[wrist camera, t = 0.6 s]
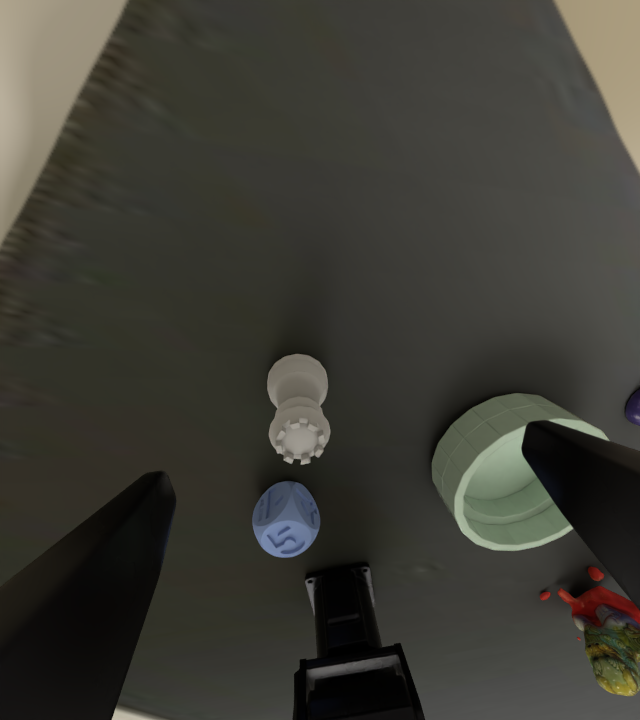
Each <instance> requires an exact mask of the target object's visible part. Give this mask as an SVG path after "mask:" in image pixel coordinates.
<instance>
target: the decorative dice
mask: <svg viewBox="0 0 640 720" xmlns="http://www.w3.org/2000/svg"><path fill="white" fill-rule="evenodd" d="M252 521H253V529H254V533H255V535H256V538H257V540H258V542H259V544H260V545H261V546H262V548H263V549H264V550H265V551H266V552H268V553H269V554H271V555H273V556H277V557H293V556H296V555H298V554H300V553H302V552H304V551H305V550H306V549H307V548H308V547H309V546H310V545H311V544H312V543H313V541H314V540H315V538H316V536H317V533H318V531H319V527H320V515H319V511H318V508H317V505H316V503H315V501H314V499H313V497H312V495H311V494H310V492H309V491H308V490H307V489H306V488H305V487H304V486H303V485H302V484H300V483H297V482H293V481H284V482H279V483H276V484H274V485H273V486H271V487H270V488H269V489H268V490H267V491H266V492H265V493H264V494H263V495H262V496H261V498H260V499H259V501H258V502H257V504H256V506H255V509H254V512H253V519H252Z"/></svg>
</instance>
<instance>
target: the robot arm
mask: <svg viewBox="0 0 640 720" xmlns="http://www.w3.org/2000/svg"><path fill="white" fill-rule="evenodd" d="M521 451H522V454H523V457H524V458H525V460H526V461H527V463H528V464H529V466H530V467H531V469H532V470H533V472H534V473H535V475H536V476H537V478H538V479H539V481H540V482H541V484H542V485H543V487H544V488H545V490H546V491H547V493H548V494H549V496H550V497H551V499H552V500H553V501H554V503H555V504H556V506H557V507H558V509H559V510H560V512H561V513H562V514H563V516H564V517H565V518H566V520H567V521H568V522H569V523H570V525H571V526H572V527H573V528H574V530H575V531H576V532H577V533H578V535H579V536H580V537H581V538H582V540H583V541H584V542H585V543H586V545H587V546H588V547H589V548H590V550H591V551H592V552H593V553H594V555H595V556H596V557H597V558H598V559H599V561H600V562H601V563H602V564H603V566H604V567H605V568H606V569H607V571H608V572H609V573H610V574H611V576H612V577H613V578H614V579H615V581H616V582H617V583H618V584H619V586H620V587H621V588H622V589H623V591H624V592H625V593H626V594H627V596H628V597H629V598H630V599H631V601H632V602H633V603H634V604H635V605H636V607H637V608H638V609H639V610H640V451H637V450H634V449H631V448H628V447H625V446H622V445H620V444H617V443H614V442H611V441H608V440H605V439H602V438H599V437H596V436H593V435H590V434H587V433H584V432H581V431H578V430H575V429H572V428H569V427H566V426H563V425H561V424H558V423H555V422H552V421H549V420H538V421H531V422H529V423H528V424H527V425H526V428H525V432H524V437H523V442H522V446H521ZM175 507H176V496H175V493H174V490H173V487H172V485H171V482H170V479H169V477H168V475H167V473H166V472H165V471H155V472H149V473H146V474H144V475H143V476H141V477H140V478H139V479H138V480H136V481H135V482H134V483H133V484H131V485H130V486H129V487H127V488H126V489H125V490H124V491H122V492H121V493H120V494H118V495H117V496H116V497H115V498H113V499H112V500H111V501H110V502H108V503H107V504H106V505H104V506H103V507H102V508H101V509H99V510H98V511H97V512H96V513H94V514H93V515H92V516H90V517H89V518H88V519H87V520H85V521H84V522H83V523H81V524H80V525H79V526H78V527H76V528H75V529H74V530H73V531H71V532H70V533H69V534H67V535H66V536H65V537H64V538H62V539H61V540H60V541H58V542H57V543H56V544H55V545H53V546H52V547H51V548H50V549H48V550H47V551H46V552H44V553H43V554H42V555H41V556H39V557H38V558H37V559H35V560H34V561H33V562H32V563H30V564H29V565H28V566H27V567H25V568H24V569H23V570H21V571H20V572H19V573H18V574H16V575H15V576H14V577H12V578H11V579H10V580H9V581H7V582H6V583H5V584H4V585H2V586H1V587H0V720H112V717H113V714H114V711H115V708H116V705H117V702H118V699H119V696H120V693H121V690H122V687H123V684H124V681H125V678H126V675H127V672H128V669H129V666H130V663H131V660H132V657H133V654H134V651H135V648H136V645H137V642H138V639H139V636H140V633H141V630H142V627H143V624H144V621H145V618H146V615H147V612H148V609H149V606H150V603H151V600H152V597H153V594H154V591H155V588H156V585H157V581H158V578H159V575H160V571H161V567H162V563H163V559H164V555H165V550H166V546H167V542H168V537H169V533H170V529H171V524H172V520H173V516H174V511H175ZM305 583H306V587H307V591H308V595H309V598H310V602H311V606H312V609H313V613H314V617H315V627H316V644H317V658H316V659H310V660H306V659H301V660H300V669H299V670H298V671H297V672H296V673H295V674H294V710H293V720H425V718H424V714H423V710H422V707H421V703H420V700H419V697H418V694H417V691H416V688H415V685H414V682H413V679H412V676H411V673H410V670H409V667H408V664H407V661H406V658H405V655H404V652H403V649H402V646H401V643H396V644H394V645H393V646H387V647H382V644H381V639H380V635H379V631H378V626H377V622H376V617H375V613H374V609H373V608H374V607H375V599H374V593H373V586H372V579H371V572H370V567H369V564H367V563H362V564H357V565H352V566H347V567H342V568H337V569H332V570H327V571H322V572H317V573H312V574H308V575H306V577H305Z"/></svg>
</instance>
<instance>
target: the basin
mask: <svg viewBox="0 0 640 720" xmlns="http://www.w3.org/2000/svg"><path fill="white" fill-rule="evenodd" d="M538 420H549V421H552V422H555V423H558V424H561V425H563V426H566V427H569V428H572V429H575V430H578V431H581V432H584V433H587V434H590V435H593V436H596V437H599V438H602V439H605V440H608V438H607V437H606V436H605V434H604V433H603V432H602V430H600V429H599V428H597V427H595V426H593V425H592V424H590V423H588V422H586V421H585V420H583V419H581V418H580V417H578V416H576V415H574V414H573V413H571V412H569V411H568V410H566V409H564V408H562V407H561V406H559V405H557V404H555V403H553V402H551V401H549V400H548V399H546V398H544V397H542V396H539V395H531V394H522V393H514V394H508V395H503V396H498V397H494V398H492V399H489V400H487V401H485V402H483V403H481V404H479V405H477V406H475V407H473V408H471V409H469V410H468V411H467V412H466V413H465V414H463V415H462V416H461V417H460V418H459V419H457V420H456V421H455V422H454V423H453V424H452V425H451V426H450V427H449V429H448V430H447V431H446V433H445V434H444V435H443V437H442V438H441V440H440V441H439V443H438V445H437V448H436V451H435V454H434V457H433V460H432V480H433V483H434V485H435V487H436V489H437V491H438V493H439V495H440V497H441V499H442V500H443V502H444V504H445V505H446V507H447V508H448V510H449V512H450V513H451V515H452V517H453V518H454V520H455V522H456V523H457V525H458V527H459V528H460V530H461V532H462V533H463V534H464V535H466V536H467V537H468V538H469V539H470V540H472V541H473V542H474V543H475V544H477V545H480V546H483V547H486V548H489V549H492V550H505V551H518V550H523V549H528V548H533V547H538V546H541V545H543V544H546V543H548V542H550V541H553V540H555V539H557V538H560V537H561V536H563V535H565V534H566V533H568V532H569V531H571V530H572V529H574V528H573V527H572V526H571V525H570V523H569V522H568V521H567V520H566V518H565V517H564V516H563V514H562V513H561V512H560V510H559V509H558V507H557V506H556V504H555V503H554V501H553V500H552V499H551V497H550V496H549V494H548V493H547V491H546V490H545V488H544V487H543V485H542V484H541V482H540V481H539V479H538V478H537V476H536V475H535V473H534V472H533V470H532V469H531V467H530V466H529V464H528V463H527V461H526V460H525V458H524V457H523V454H522V451H521V446H522V442H523V437H524V432H525V428H526V425H527V424H528V423H529V422H531V421H538ZM608 441H609V440H608Z"/></svg>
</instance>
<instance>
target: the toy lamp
mask: <svg viewBox="0 0 640 720" xmlns="http://www.w3.org/2000/svg"><path fill="white" fill-rule="evenodd" d="M625 412H626V416H627V419H628V420H629V421H630V422H632V423H634V424H636V425H640V389H639V390H638V391H636V393H634V395H632V397H631V398H630V400H629V401H628V403H627V406H626V411H625Z"/></svg>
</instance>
